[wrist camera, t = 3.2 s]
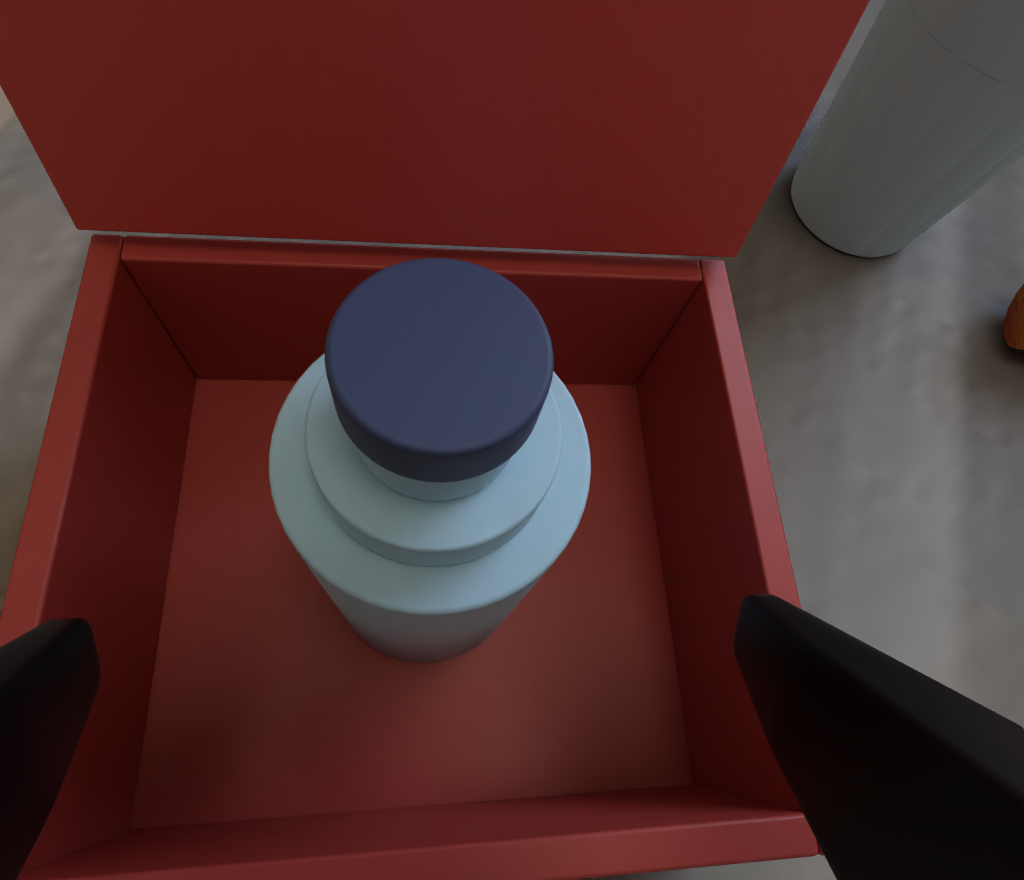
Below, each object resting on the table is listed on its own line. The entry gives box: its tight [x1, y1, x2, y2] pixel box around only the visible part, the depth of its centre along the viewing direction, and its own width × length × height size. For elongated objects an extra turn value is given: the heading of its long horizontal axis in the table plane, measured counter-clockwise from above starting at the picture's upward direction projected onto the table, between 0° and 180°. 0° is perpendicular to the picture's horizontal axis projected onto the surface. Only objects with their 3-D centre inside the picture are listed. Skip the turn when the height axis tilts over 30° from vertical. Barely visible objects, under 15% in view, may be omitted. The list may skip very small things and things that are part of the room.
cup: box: [791, 0, 1024, 258], centre depth 23 cm, size 8×8×10 cm
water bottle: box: [269, 258, 591, 663], centre depth 13 cm, size 5×5×12 cm
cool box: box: [0, 234, 824, 880], centre depth 16 cm, size 13×15×6 cm
